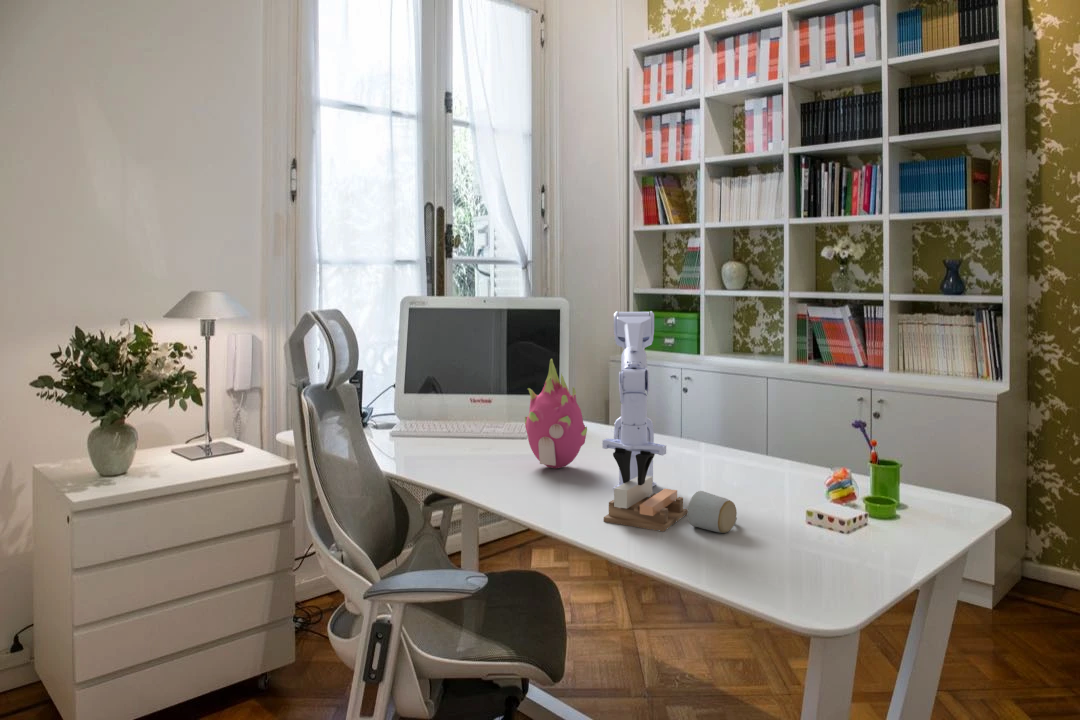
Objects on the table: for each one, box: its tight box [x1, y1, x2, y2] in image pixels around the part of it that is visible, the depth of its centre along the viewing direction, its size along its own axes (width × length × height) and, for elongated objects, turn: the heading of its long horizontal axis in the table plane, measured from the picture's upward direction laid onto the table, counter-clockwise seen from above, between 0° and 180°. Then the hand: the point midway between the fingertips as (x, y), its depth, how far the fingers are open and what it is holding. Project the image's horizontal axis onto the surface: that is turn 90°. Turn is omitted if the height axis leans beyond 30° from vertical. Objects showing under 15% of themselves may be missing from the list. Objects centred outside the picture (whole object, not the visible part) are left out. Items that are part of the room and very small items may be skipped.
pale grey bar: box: [613, 476, 654, 509], centre depth 180 cm, size 14×3×4 cm, turn 149°
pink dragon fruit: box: [524, 358, 588, 469], centre depth 221 cm, size 18×14×30 cm
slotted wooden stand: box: [603, 493, 688, 532], centre depth 179 cm, size 14×14×4 cm
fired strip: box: [640, 488, 678, 516], centre depth 178 cm, size 14×3×2 cm, turn 149°
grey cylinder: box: [686, 490, 738, 534], centre depth 172 cm, size 11×8×8 cm
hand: (633, 483), depth 180 cm, fingers closed on pale grey bar, 3 cm apart
